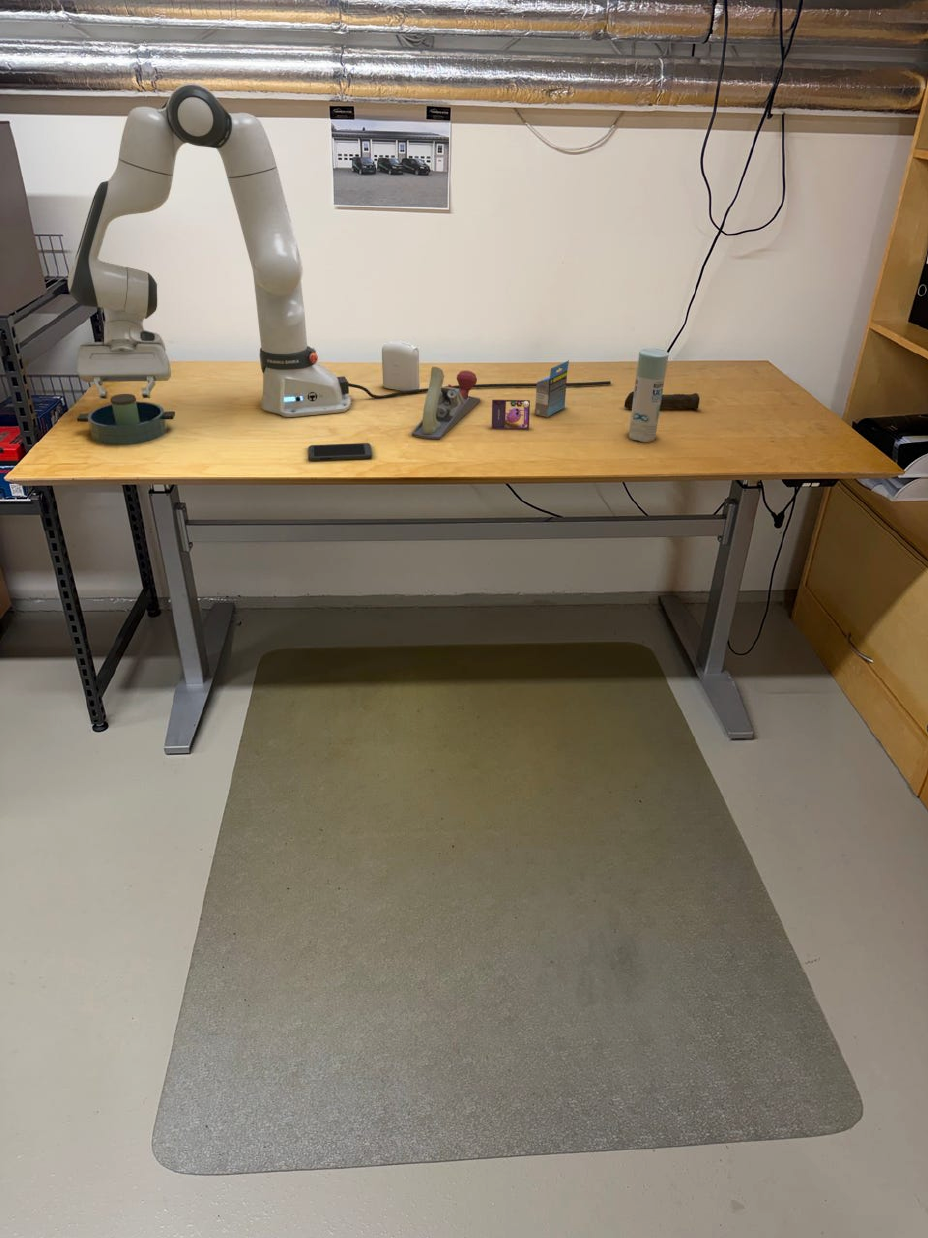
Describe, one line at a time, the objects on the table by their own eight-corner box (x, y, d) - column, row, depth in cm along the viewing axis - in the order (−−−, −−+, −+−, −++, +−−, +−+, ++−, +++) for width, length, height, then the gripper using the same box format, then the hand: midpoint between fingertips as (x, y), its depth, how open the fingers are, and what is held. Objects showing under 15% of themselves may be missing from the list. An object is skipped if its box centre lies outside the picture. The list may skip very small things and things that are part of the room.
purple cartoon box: (492, 399, 204) (530, 400, 204) (491, 399, 209) (528, 400, 209) (491, 428, 205) (529, 429, 206) (490, 428, 210) (527, 428, 211)
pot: (171, 418, 207) (168, 400, 205) (161, 444, 193) (158, 425, 191) (100, 420, 205) (96, 402, 203) (84, 447, 191) (79, 427, 189)
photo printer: (380, 388, 229) (378, 341, 223) (388, 383, 233) (387, 337, 226) (414, 394, 226) (413, 346, 219) (421, 389, 229) (421, 342, 222)
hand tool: (694, 406, 223) (697, 388, 221) (698, 411, 220) (701, 393, 217) (622, 405, 222) (624, 388, 220) (625, 411, 219) (627, 393, 216)
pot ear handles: (175, 414, 200) (174, 411, 200) (173, 419, 197) (172, 415, 197) (80, 417, 197) (79, 413, 197) (77, 422, 195) (76, 418, 194)
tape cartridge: (552, 405, 221) (555, 356, 215) (565, 408, 219) (569, 359, 213) (533, 414, 215) (537, 365, 208) (547, 418, 213) (551, 368, 207)
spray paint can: (649, 444, 200) (662, 358, 189) (623, 438, 203) (634, 353, 192) (659, 436, 205) (672, 351, 194) (634, 430, 208) (645, 346, 197)
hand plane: (410, 436, 201) (409, 372, 193) (456, 395, 225) (457, 337, 217) (438, 440, 199) (438, 376, 191) (482, 399, 224) (484, 341, 215)
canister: (143, 426, 202) (137, 393, 197) (139, 435, 197) (133, 401, 193) (119, 427, 201) (112, 393, 197) (115, 435, 197) (108, 401, 192)
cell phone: (372, 458, 189) (372, 455, 189) (308, 461, 187) (308, 457, 187) (370, 445, 195) (370, 442, 195) (308, 448, 193) (308, 444, 193)
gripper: (73, 335, 195) (72, 391, 193) (166, 334, 198) (167, 389, 195) (82, 349, 201) (81, 404, 199) (172, 348, 204) (172, 402, 201)
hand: (124, 397), depth 197 cm, fingers open, 8 cm apart
